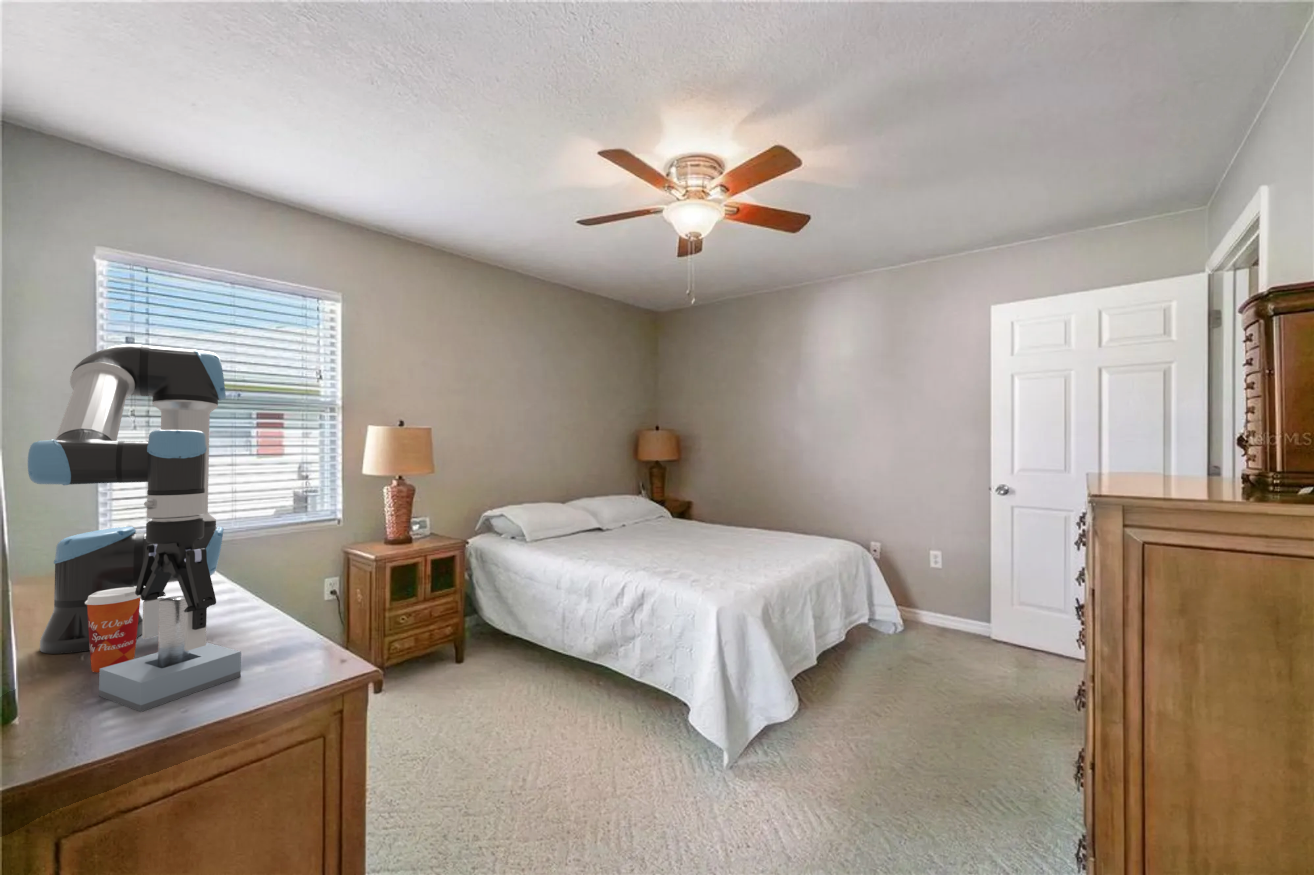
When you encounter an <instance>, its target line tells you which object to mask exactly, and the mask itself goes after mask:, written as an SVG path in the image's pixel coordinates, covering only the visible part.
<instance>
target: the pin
mask: <svg viewBox="0 0 1314 875" xmlns="http://www.w3.org/2000/svg"><path fill="white" fill-rule="evenodd" d="M163 598H164V599H161V600H159V623H158V636H157V638H158V639H157V652H158V667H159V668H165V667H169V666H172V665H175V664H178V663H182V662H185V661H188V660H189V650H188V651H186V650H184V644H185V612H184V610H185V609H186V608H187V607H188V605H187V603H186V600H185V598H184V595H175V596H174V595H173V596H169V597H163Z"/></svg>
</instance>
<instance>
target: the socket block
mask: <svg viewBox="0 0 1314 875" xmlns="http://www.w3.org/2000/svg"><path fill="white" fill-rule="evenodd" d="M241 663H242V651H240V650H237V649H235V648H234V649H233V648H230V647H226V646H222V645H219V644H218V645H217V644H214V643H210V642H207V641H206V645H205V646H202V647H199V648H195V649H192V650H189V660H188V661H185V662H182V663H178V664H175V665H172V666H169V667H165V668H159V667H158V651H157V652H154V653H151V654H147V655H146V654H145V655H143V656H139V657H137V658H134V659H132V660H129V661H125V662H122V663H118V664H114V665H111V666H107V667H104V668H100V672H99V675H98V676H99V678H98V681H99V683H98V696H99V697H101V698H104V699H106V700H109V701H111V702H113V703H116V704H119V705H122V706H123V707H127V708H130V709H132V710H135V711H136V712H137V711H138V712H140V713H141V712H143V711H147V710H149V709H152V708H155V707H158V706H161V705H164V704H166V703H170V702H173V701H176V700H178V699H180V698H184V697H187V696H189V695H191V694H195V693H198V692H200V691H203V690H207V689H209V688H212V687H214V686H217V685H220V684H224V683H226V682H229V681H232V680H234V679H237V678H240V677H241V672H242V671H241V670H242V668H241V667H242V664H241Z"/></svg>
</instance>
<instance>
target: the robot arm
mask: <svg viewBox="0 0 1314 875" xmlns="http://www.w3.org/2000/svg"><path fill="white" fill-rule="evenodd" d="M69 384H70V386H71V389H72V393H71V396H70V397H69V398H70V399H69V402H68V404H67V406H66V409H65V412H64V414H63V417H62V419H61V423H60V425H59V428H58V431H57V434H56V436H55V438H54V439H53V438H52V439H48V440H38V441H34V442H33V443H31V445H30V446H29V449H28V455H27V473H28V477H29V479H30V481H32V483H35V484H37V485H62V486H71V485H91V484H114V483H115V484H116V483H117V484H120V483H121V484H122V483H123V484H126V483H147V494H146V495H147V498H146V501H144V502H143V506H144V507H146V517H147V518H148V519H151V520H148V521H147V523H146V524H145V527H146V528H145V531H144V532H137V529H136V527H134V526H122V527H119V526H118V527H110V528H106V529H105V528H104V529H99V530H92V531H88V532H82V533H77V534H75V535H70V536H67V537H64V538H63V539H61V540H60V541H59V542H58V543H57V545H56V548H55V556H54V557H55V558H54V561H53V564H54V595H53V596H54V597H53V598H54V599H53V600H54V601H53V612H52V613H51V616H50V618H49V619H48V622H47V625H46V626H45V628H44V631H43V632H42V635H41V637H40V640H39V652H41V653H43V654H49V655H50V654H54V655H55V654H56V655H57V654H70V653H73V654H74V653H79V652H81V653H82V652H86V651H90V644H89V629H88V610H87V604H85V602H86V601H87V599H88V596H89V595H91V594H93V593H95V592H99V591H103V590H109V589H115V588H126V587H136V591H135V594H136V595H137V596H138V595H141V598H140V601H143V602H142V615H141V613H140V611H139V618H138V628H137V638H138V637H140V636H142V637H141V639H144V640H146V639H151V638H154V637H158V623H159V600H161V599H164V598H165V597H166V592H165V589H166V587H167V585H168V583H174V582H175V583H176V582H178V584H179V586H180V590H181V592H182V596H184V598H185V600H186V603H187V605H188V607H187V608H186V609H185V610H184V612H185V644H184V650H186V651H188V650H192V649H195V648H199V647H202V646H205V645H206V642H207V618H208V617H207V615H208V614H207V611H208V609H207V608H209V607H210V606H215V605H216V604H217V598H216V594H215V591H214V586H213V581H212V576H213V575H214V574H215V573H216V572H217V569H218V568H217V567H218V566H219V564H218V563H219V559H220V556H221V555H220V554H221V550H222V544H223V543H222V542H223V536H224V532H225V531H224V527H223V526H220V525H218V526H217V518H216V517H214V516H212V515H211V514H210V513H209V476H210V475H209V472H210V470H209V467H210V466H209V465H210V464H209V462H210V461H209V459H210V457H209V456H210V421H211V420H210V417H211V416H210V414H211V413H212V412H213V411H215V410H216V409H217V408H218V407H219V401H223V400H225V399H226V387H225V386H226V385H225V377H224V372H223V364H222V361H221V358H220V356H219V355H218V354H216V353H215V352H212V351H206V350H200V349H199V350H198V349H196V348H191V349H190V348H178V347H168V346H166V347H165V346H156V345H155V346H153V345H143V344H134V343H129V344H121V345H114V346H113V345H112V346H110V347H107V348H104V349H103V348H102V349H101V350H98V351H95V352H94V353H93V352H92V353H91V354H90V355H88V356H87V357H85V358H83V359H81V361H80V362H78V363H77V364H76V365H75V367H74V368H73V369H72V372H71V376H70V378H69ZM131 396H141V397H150V398H151V397H152V406H154V407H155V408H156V409H158V410H159V411H160V429H155V430H152V431H150V432H149V435H148V440H146V441H143V440H139V441H138V440H132V441H131V440H118V436H119V431H120V426H121V423H122V422H121V421H122V417H123V412H124V408H125V404H126V400H127V399H128V398H130V397H131Z"/></svg>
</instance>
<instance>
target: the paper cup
mask: <svg viewBox="0 0 1314 875" xmlns="http://www.w3.org/2000/svg"><path fill="white" fill-rule="evenodd" d="M136 587H137V586H134V587H126V588H115V589H109V590H103V591H99V592H95V593H93V594H91V595H89V596H88V599H87V601H86V602H85V604H87V610H88V629H89V644H90V650H89V654H90V656H89V658H90V670H91V672H92V673H99V672H100V668H104V667H107V666H111V665H114V664H118V663H122V662H125V661H129V660H132V659H135V654H136V646H137V638H138V637H137V628H138V618H139V612H140V607H141V606H140V605H141V595H138V596H137V595H136V594H135V591H136Z"/></svg>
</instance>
